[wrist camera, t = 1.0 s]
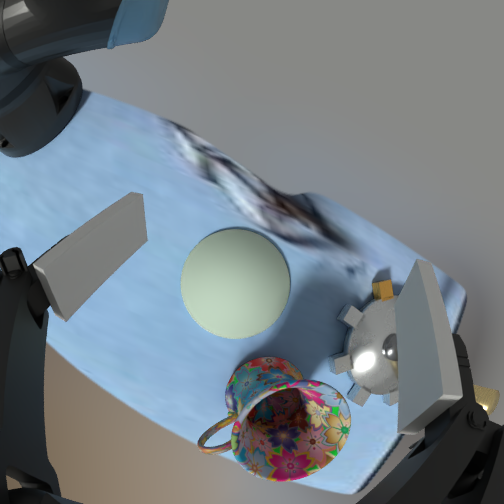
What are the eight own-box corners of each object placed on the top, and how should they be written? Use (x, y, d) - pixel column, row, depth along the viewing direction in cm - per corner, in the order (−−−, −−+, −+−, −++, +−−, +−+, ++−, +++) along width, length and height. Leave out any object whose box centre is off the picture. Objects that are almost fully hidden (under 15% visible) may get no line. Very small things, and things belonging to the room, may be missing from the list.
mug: (295, 339, 29) (340, 361, 19) (313, 412, 29) (357, 454, 18) (183, 371, 27) (176, 413, 17) (211, 444, 26) (218, 502, 16)
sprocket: (307, 333, 29) (398, 366, 14) (400, 258, 32) (500, 238, 17) (363, 424, 29) (444, 479, 14) (440, 349, 32) (527, 363, 17)
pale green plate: (160, 265, 28) (160, 265, 28) (252, 210, 30) (253, 209, 30) (219, 358, 28) (219, 359, 27) (307, 299, 30) (308, 299, 30)
